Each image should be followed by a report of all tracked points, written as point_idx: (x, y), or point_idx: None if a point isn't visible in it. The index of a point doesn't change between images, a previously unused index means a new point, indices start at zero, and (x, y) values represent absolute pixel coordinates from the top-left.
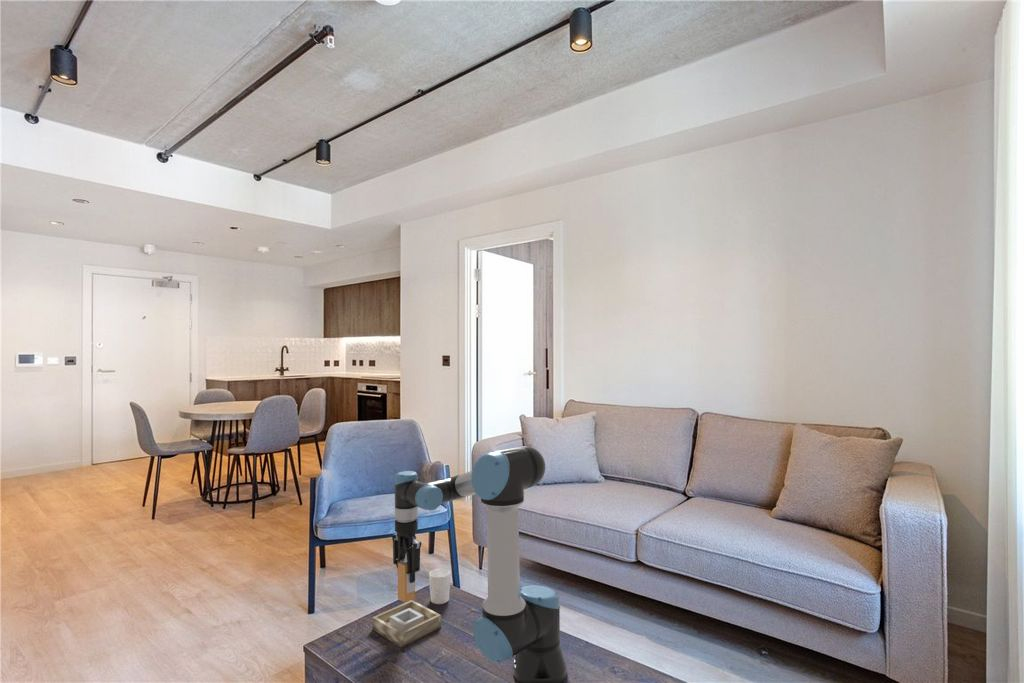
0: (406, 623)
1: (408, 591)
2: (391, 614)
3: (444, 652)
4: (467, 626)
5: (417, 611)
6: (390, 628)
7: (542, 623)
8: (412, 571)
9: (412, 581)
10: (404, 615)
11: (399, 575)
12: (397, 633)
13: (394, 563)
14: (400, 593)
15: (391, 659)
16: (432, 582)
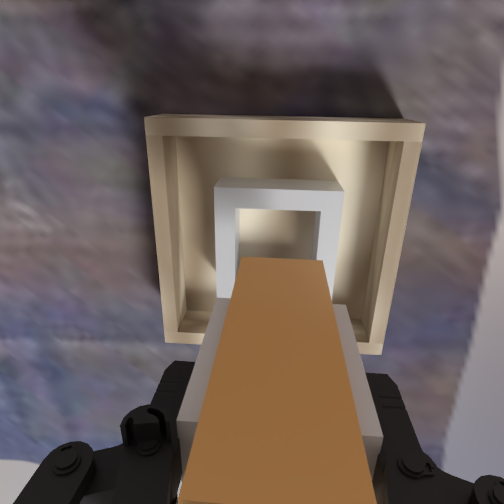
0: (218, 205)
1: (215, 309)
2: (382, 229)
3: (20, 210)
4: (116, 365)
5: None
6: (240, 119)
7: None
8: (61, 457)
9: (164, 377)
10: (315, 258)
11: (316, 371)
12: (177, 118)
13: (491, 488)
14: (292, 279)
15: (112, 19)
16: None
